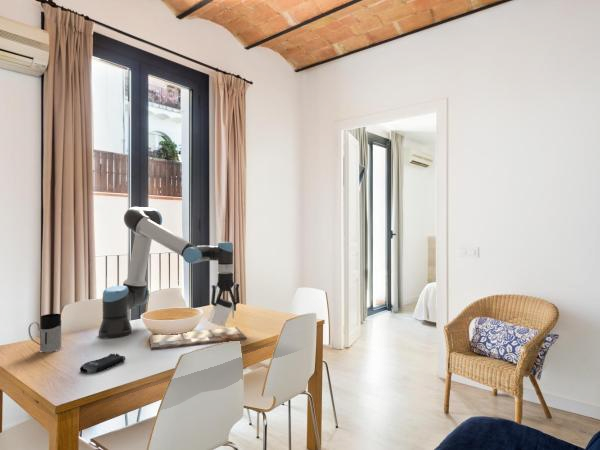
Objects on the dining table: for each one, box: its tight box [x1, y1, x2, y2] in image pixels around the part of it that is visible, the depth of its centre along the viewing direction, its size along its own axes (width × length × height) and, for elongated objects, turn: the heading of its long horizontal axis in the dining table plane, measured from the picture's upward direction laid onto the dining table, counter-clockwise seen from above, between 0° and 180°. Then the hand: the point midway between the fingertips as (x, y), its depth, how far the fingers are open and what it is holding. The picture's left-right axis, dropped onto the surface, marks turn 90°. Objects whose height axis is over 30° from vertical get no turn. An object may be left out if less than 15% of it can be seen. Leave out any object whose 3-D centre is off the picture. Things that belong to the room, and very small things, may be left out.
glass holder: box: [28, 313, 63, 353], centre depth 171 cm, size 9×14×15 cm, turn 160°
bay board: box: [149, 326, 248, 351], centre depth 191 cm, size 43×20×1 cm, turn 113°
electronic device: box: [79, 353, 126, 375], centre depth 152 cm, size 9×6×15 cm
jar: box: [207, 297, 233, 327], centre depth 198 cm, size 9×8×12 cm
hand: (225, 318), depth 199 cm, fingers closed on jar, 7 cm apart
